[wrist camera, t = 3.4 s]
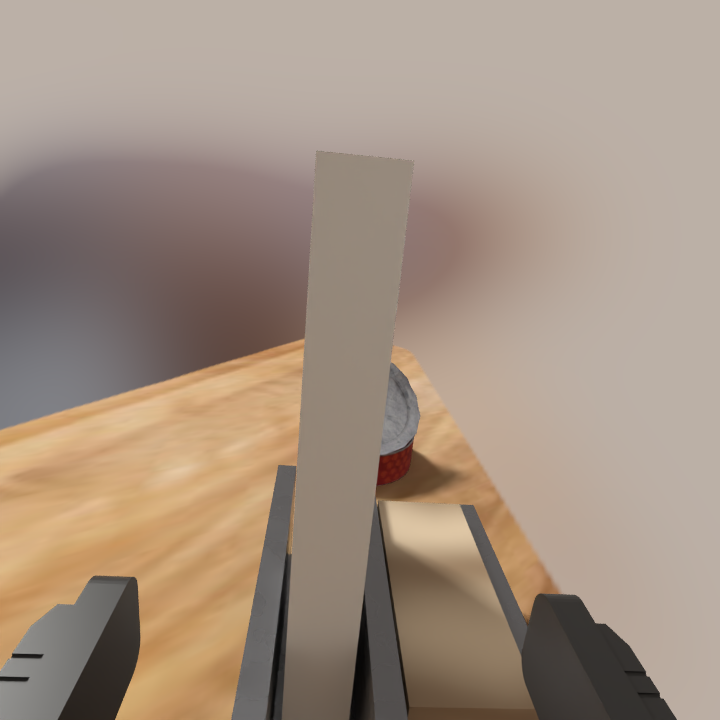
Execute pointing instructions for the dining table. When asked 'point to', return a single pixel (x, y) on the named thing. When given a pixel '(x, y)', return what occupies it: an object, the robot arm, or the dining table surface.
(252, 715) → the rack
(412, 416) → the canned food
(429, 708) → the offcut top
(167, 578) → the dining table surface
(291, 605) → the white rectangular board
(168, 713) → the dining table surface
